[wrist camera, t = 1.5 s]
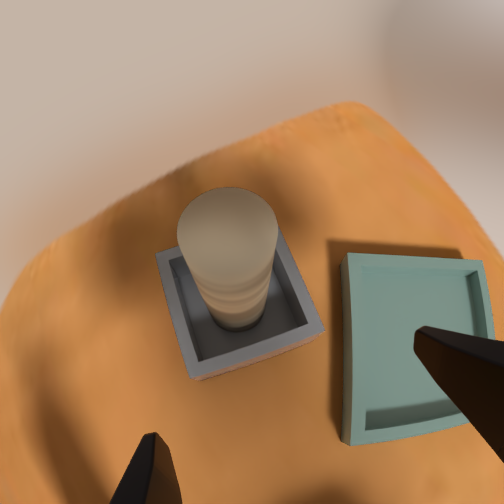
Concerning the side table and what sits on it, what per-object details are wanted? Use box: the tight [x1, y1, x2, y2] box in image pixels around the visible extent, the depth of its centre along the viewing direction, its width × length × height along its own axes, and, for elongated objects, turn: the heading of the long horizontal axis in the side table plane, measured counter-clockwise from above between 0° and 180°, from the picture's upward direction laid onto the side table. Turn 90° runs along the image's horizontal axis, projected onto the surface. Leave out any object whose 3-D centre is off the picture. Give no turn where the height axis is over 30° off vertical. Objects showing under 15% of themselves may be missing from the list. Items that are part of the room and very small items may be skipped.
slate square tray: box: [155, 226, 325, 381], centre depth 21 cm, size 9×9×4 cm
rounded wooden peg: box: [177, 187, 278, 332], centre depth 17 cm, size 4×4×11 cm
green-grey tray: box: [340, 253, 495, 446], centre depth 20 cm, size 14×14×2 cm
